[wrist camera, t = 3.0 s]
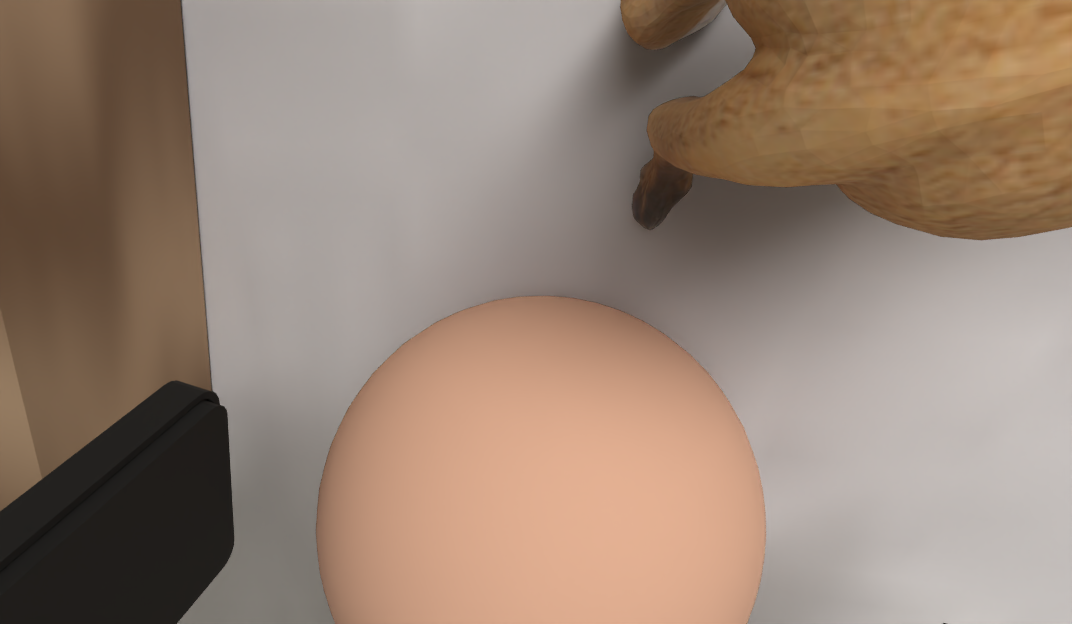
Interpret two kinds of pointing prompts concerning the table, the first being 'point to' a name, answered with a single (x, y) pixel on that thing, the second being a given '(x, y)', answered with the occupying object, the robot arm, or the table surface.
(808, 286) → the table surface
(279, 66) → the table surface
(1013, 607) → the table surface
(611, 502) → the ball
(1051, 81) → the lion figurine
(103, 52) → the walnut wall
